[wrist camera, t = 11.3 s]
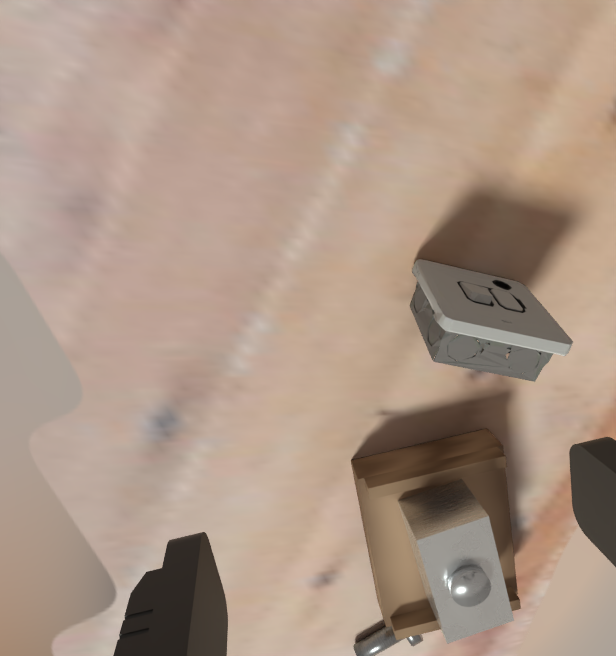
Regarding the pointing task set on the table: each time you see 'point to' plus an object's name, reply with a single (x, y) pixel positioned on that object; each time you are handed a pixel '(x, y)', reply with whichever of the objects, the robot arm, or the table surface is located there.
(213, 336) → the table surface
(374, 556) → the brown wooden tray
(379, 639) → the bolt
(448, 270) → the electrical switch
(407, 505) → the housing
